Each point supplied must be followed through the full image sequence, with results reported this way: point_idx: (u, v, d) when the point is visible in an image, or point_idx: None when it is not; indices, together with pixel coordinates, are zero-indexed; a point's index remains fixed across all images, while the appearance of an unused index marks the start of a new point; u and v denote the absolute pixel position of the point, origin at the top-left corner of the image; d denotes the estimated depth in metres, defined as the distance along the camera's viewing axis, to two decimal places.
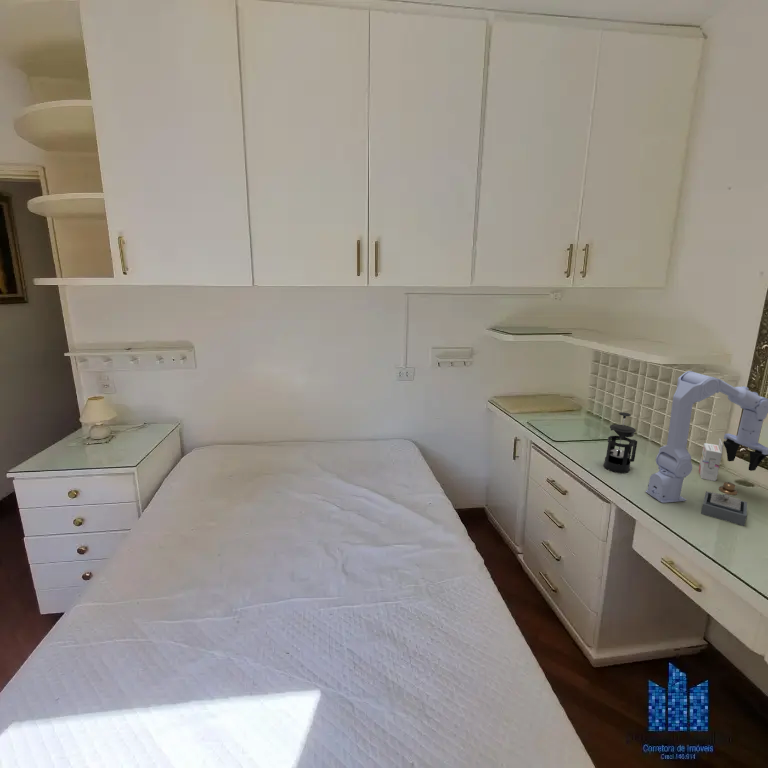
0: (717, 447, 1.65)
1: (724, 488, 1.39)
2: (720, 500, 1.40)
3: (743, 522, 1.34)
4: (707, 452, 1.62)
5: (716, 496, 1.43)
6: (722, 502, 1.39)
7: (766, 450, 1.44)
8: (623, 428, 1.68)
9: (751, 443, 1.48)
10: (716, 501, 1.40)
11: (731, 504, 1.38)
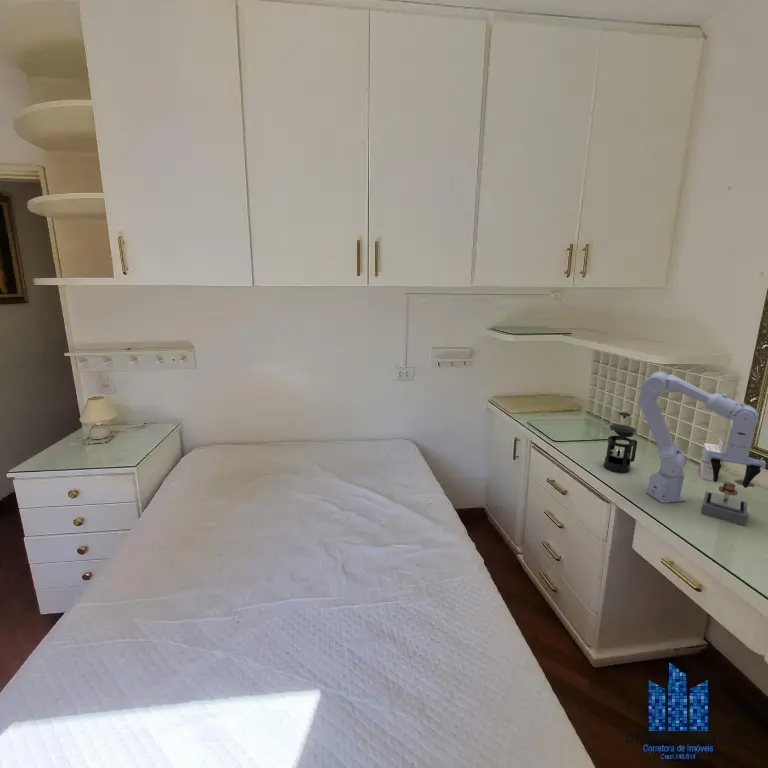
0: (717, 447, 1.65)
1: (724, 488, 1.39)
2: (720, 500, 1.40)
3: (743, 522, 1.34)
4: None
5: (716, 496, 1.43)
6: (722, 502, 1.39)
7: None
8: (623, 428, 1.68)
9: (747, 459, 1.34)
10: (716, 501, 1.40)
11: (731, 504, 1.38)
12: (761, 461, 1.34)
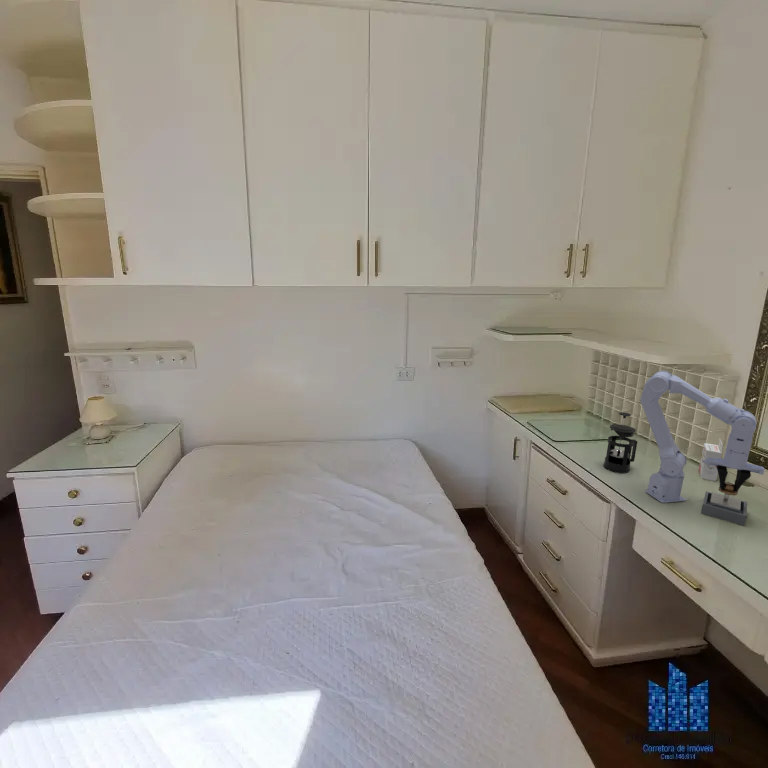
0: (717, 447, 1.65)
1: (724, 488, 1.39)
2: (720, 500, 1.40)
3: (743, 522, 1.34)
4: (707, 452, 1.62)
5: (716, 496, 1.43)
6: (722, 502, 1.39)
7: (763, 469, 1.34)
8: (623, 428, 1.68)
9: (745, 465, 1.35)
10: (716, 501, 1.40)
11: (731, 504, 1.38)
12: (760, 467, 1.34)
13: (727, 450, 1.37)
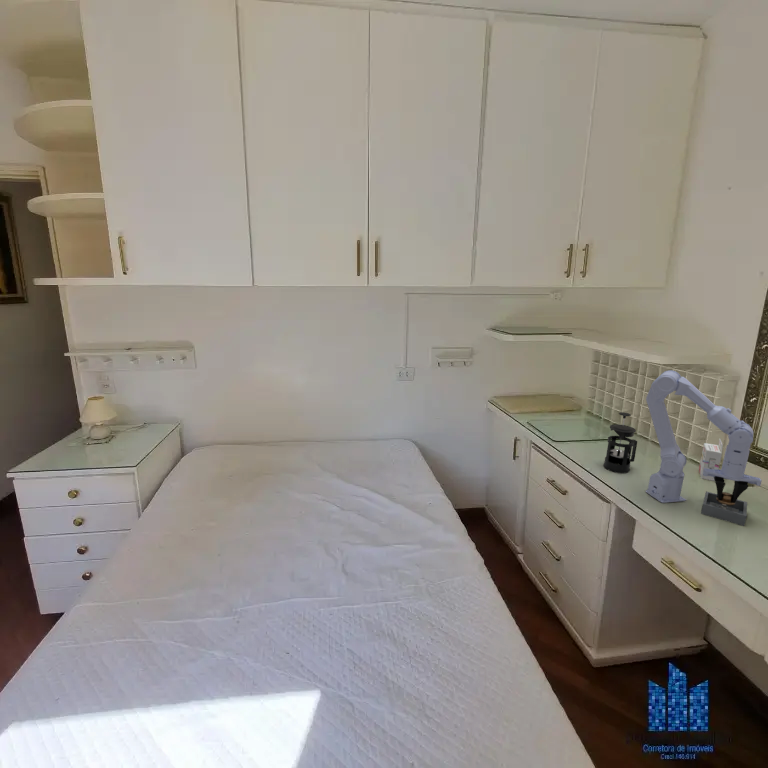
0: (717, 447, 1.65)
1: (722, 498, 1.40)
2: None
3: (743, 522, 1.34)
4: (707, 452, 1.62)
5: (714, 505, 1.44)
6: None
7: (760, 481, 1.35)
8: (623, 428, 1.68)
9: (743, 476, 1.36)
10: None
11: None
12: (757, 478, 1.35)
13: (724, 461, 1.38)
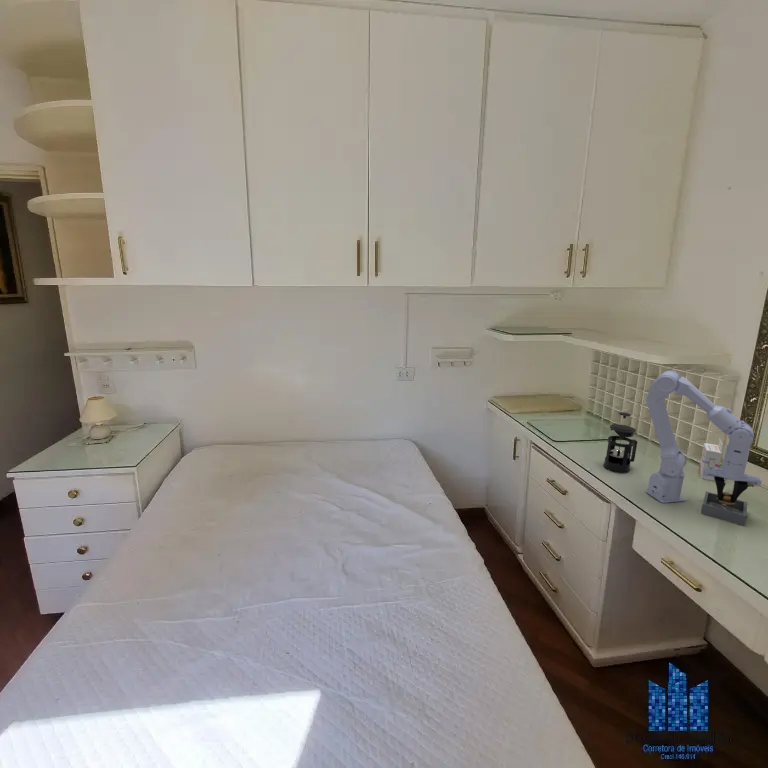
0: (717, 447, 1.65)
1: (722, 498, 1.40)
2: None
3: (743, 522, 1.34)
4: (707, 452, 1.62)
5: (714, 505, 1.44)
6: None
7: None
8: (623, 428, 1.68)
9: (743, 476, 1.36)
10: None
11: None
12: (757, 478, 1.35)
13: (724, 461, 1.38)
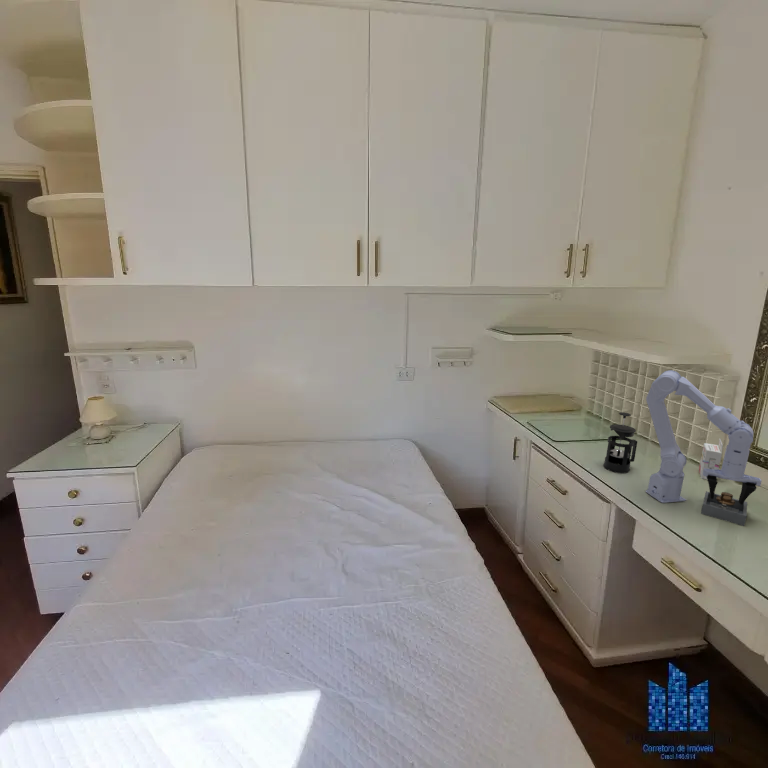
0: (717, 447, 1.65)
1: (722, 498, 1.40)
2: None
3: (743, 522, 1.34)
4: (707, 452, 1.62)
5: (714, 505, 1.44)
6: None
7: (760, 481, 1.35)
8: (623, 428, 1.68)
9: (743, 476, 1.36)
10: None
11: None
12: (757, 478, 1.35)
13: (724, 461, 1.38)
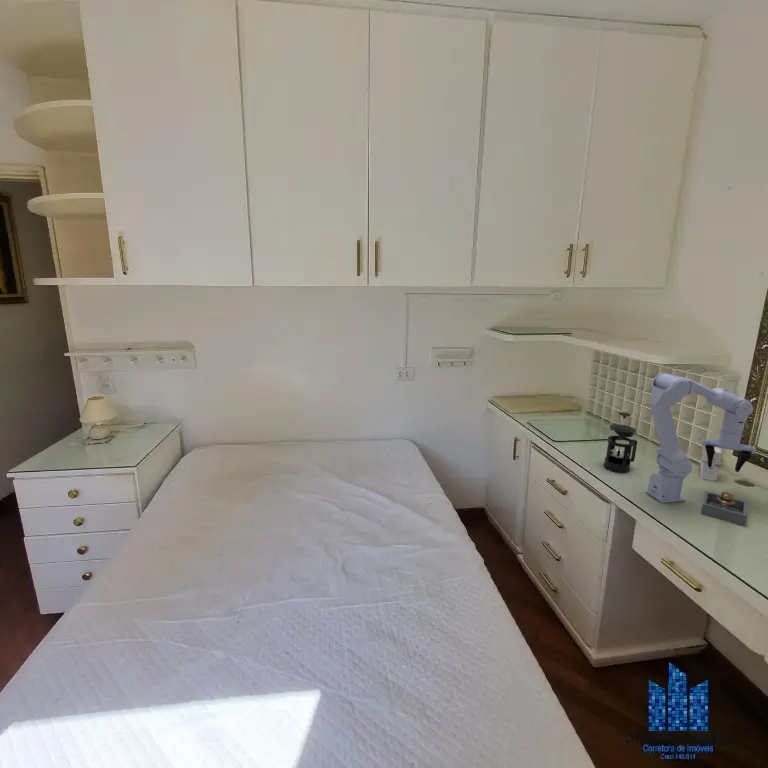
0: (717, 447, 1.65)
1: (722, 498, 1.40)
2: None
3: (743, 522, 1.34)
4: None
5: (714, 505, 1.44)
6: None
7: (755, 449, 1.44)
8: (623, 428, 1.68)
9: (739, 445, 1.45)
10: None
11: None
12: (752, 447, 1.45)
13: (722, 431, 1.47)
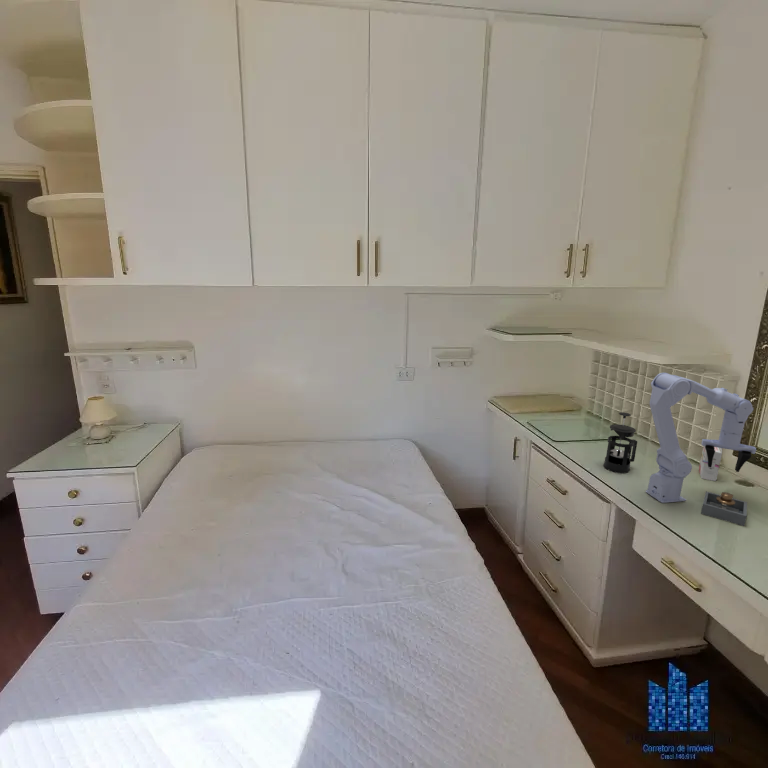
0: (717, 447, 1.65)
1: (722, 498, 1.40)
2: None
3: (743, 522, 1.34)
4: None
5: (714, 505, 1.44)
6: None
7: (755, 449, 1.44)
8: (623, 428, 1.68)
9: (739, 445, 1.45)
10: None
11: None
12: (752, 447, 1.45)
13: (722, 431, 1.47)
